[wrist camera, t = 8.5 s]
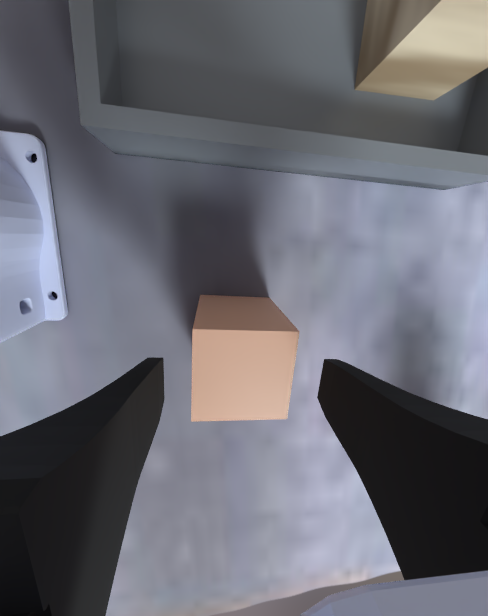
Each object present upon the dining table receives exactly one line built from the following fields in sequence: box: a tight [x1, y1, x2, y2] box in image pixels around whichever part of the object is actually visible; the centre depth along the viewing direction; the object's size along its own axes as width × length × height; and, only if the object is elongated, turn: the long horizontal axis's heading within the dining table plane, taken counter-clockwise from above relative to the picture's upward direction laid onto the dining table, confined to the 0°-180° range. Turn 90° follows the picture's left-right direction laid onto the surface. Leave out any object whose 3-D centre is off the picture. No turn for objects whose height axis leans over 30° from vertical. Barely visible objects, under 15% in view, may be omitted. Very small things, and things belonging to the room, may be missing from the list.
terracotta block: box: [191, 295, 299, 421], centre depth 14 cm, size 4×4×6 cm
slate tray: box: [68, 0, 488, 190], centre depth 11 cm, size 13×20×4 cm, turn 86°
